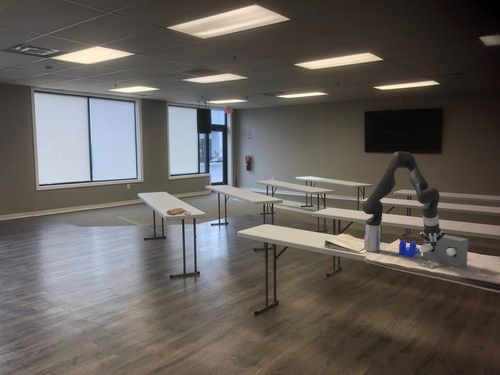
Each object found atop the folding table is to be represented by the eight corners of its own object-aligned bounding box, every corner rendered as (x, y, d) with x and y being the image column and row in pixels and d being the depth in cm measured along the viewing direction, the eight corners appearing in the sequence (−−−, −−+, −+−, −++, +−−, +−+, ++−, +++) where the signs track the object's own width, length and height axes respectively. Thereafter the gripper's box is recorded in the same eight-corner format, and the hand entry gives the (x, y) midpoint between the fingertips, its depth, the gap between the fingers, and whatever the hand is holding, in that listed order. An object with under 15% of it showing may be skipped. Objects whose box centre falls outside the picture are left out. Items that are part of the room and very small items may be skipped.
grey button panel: (459, 269, 217) (460, 241, 216) (422, 259, 235) (423, 233, 234) (466, 266, 222) (468, 239, 220) (430, 257, 240) (431, 232, 238)
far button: (427, 252, 226) (427, 245, 225) (420, 251, 229) (420, 243, 229) (435, 250, 230) (436, 243, 230) (428, 249, 234) (429, 241, 233)
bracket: (412, 257, 241) (413, 243, 240) (398, 255, 246) (399, 241, 245) (421, 251, 255) (421, 237, 254) (408, 249, 260) (408, 236, 259)
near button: (453, 256, 217) (454, 249, 217) (446, 255, 221) (446, 247, 221) (461, 254, 222) (462, 247, 222) (454, 252, 226) (454, 245, 225)
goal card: (431, 268, 218) (431, 267, 218) (418, 265, 225) (418, 264, 225) (437, 267, 221) (437, 265, 221) (424, 263, 228) (424, 262, 228)
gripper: (443, 215, 209) (446, 240, 217) (417, 217, 214) (420, 241, 222) (445, 224, 203) (447, 249, 211) (418, 226, 208) (421, 250, 216)
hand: (433, 245), depth 217 cm, fingers closed
